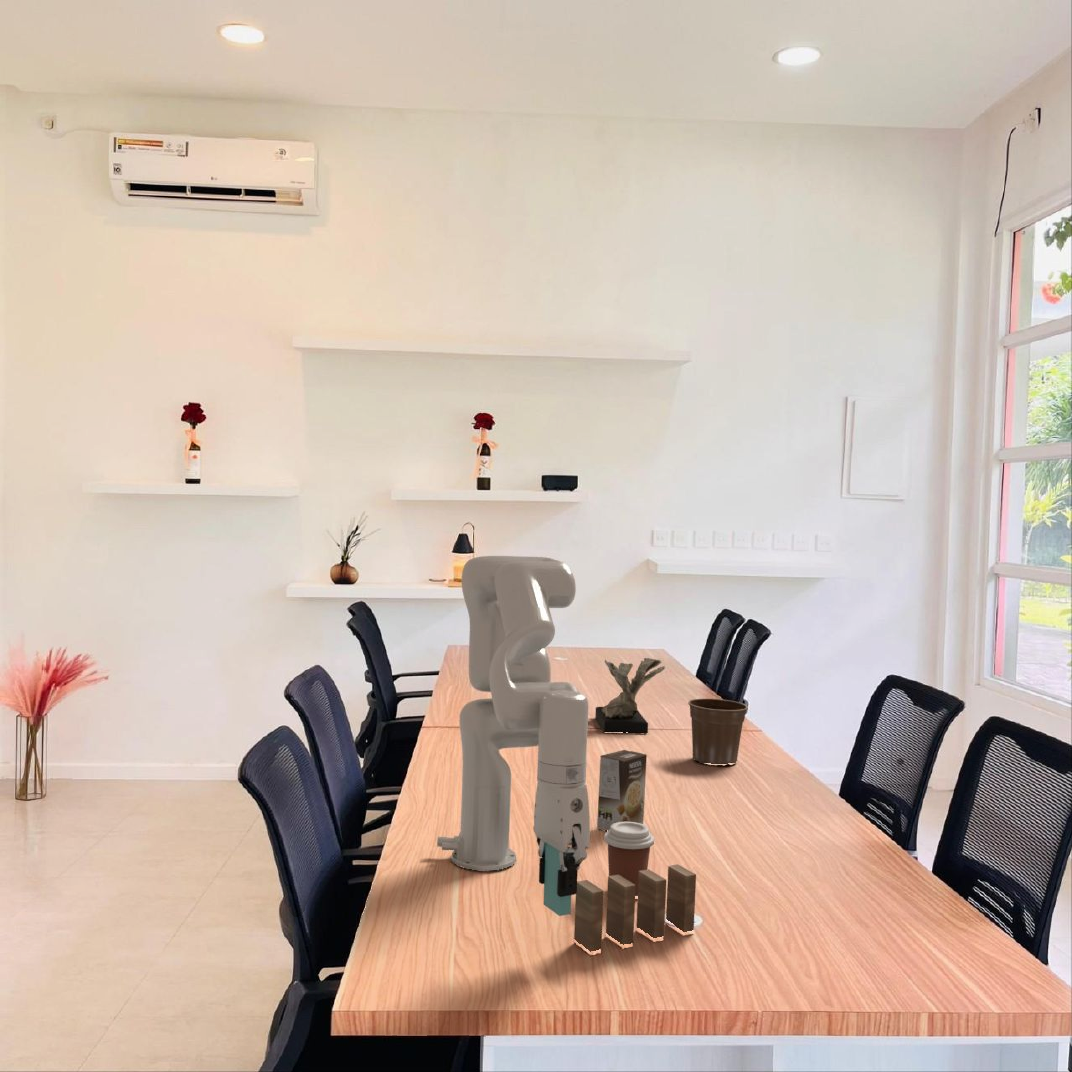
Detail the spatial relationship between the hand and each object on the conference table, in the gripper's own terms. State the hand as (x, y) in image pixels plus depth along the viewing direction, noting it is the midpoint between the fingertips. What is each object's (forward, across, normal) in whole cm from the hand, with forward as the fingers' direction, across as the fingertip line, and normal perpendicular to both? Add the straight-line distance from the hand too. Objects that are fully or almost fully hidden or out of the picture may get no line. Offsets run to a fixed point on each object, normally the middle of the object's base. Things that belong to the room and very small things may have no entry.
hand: (557, 887), depth 158 cm
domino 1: (+11, 0, -6) cm, 12 cm away
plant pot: (+10, +87, -101) cm, 134 cm away
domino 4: (+11, 0, -24) cm, 26 cm away
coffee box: (+11, +49, -44) cm, 67 cm away
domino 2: (+11, 0, -12) cm, 16 cm away
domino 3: (+11, 0, -18) cm, 21 cm away
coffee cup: (+11, +17, -25) cm, 32 cm away
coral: (+10, +134, -104) cm, 170 cm away
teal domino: (+3, 0, 0) cm, 3 cm away
